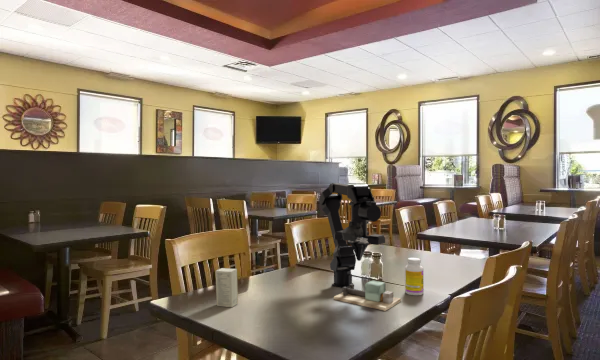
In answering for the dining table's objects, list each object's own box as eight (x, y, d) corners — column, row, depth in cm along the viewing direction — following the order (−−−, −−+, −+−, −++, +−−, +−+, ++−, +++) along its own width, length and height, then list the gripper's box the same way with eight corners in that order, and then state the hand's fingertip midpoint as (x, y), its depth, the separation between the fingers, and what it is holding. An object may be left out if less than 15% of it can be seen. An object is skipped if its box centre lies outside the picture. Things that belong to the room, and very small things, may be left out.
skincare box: (238, 303, 136) (237, 268, 136) (231, 307, 131) (231, 271, 131) (222, 301, 138) (221, 267, 138) (215, 306, 133) (215, 270, 133)
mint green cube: (365, 298, 136) (365, 283, 136) (372, 295, 140) (372, 280, 140) (378, 301, 133) (378, 286, 132) (385, 297, 137) (385, 282, 137)
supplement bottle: (424, 296, 142) (424, 261, 142) (405, 295, 144) (405, 260, 143) (422, 291, 149) (422, 257, 149) (404, 290, 150) (404, 256, 150)
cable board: (333, 299, 140) (333, 287, 140) (351, 291, 149) (351, 280, 149) (385, 310, 127) (385, 298, 127) (400, 301, 137) (400, 289, 137)
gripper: (325, 218, 144) (325, 260, 145) (370, 222, 132) (370, 268, 133) (342, 215, 153) (342, 255, 153) (386, 219, 141) (385, 262, 141)
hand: (359, 260), depth 145 cm, fingers closed
